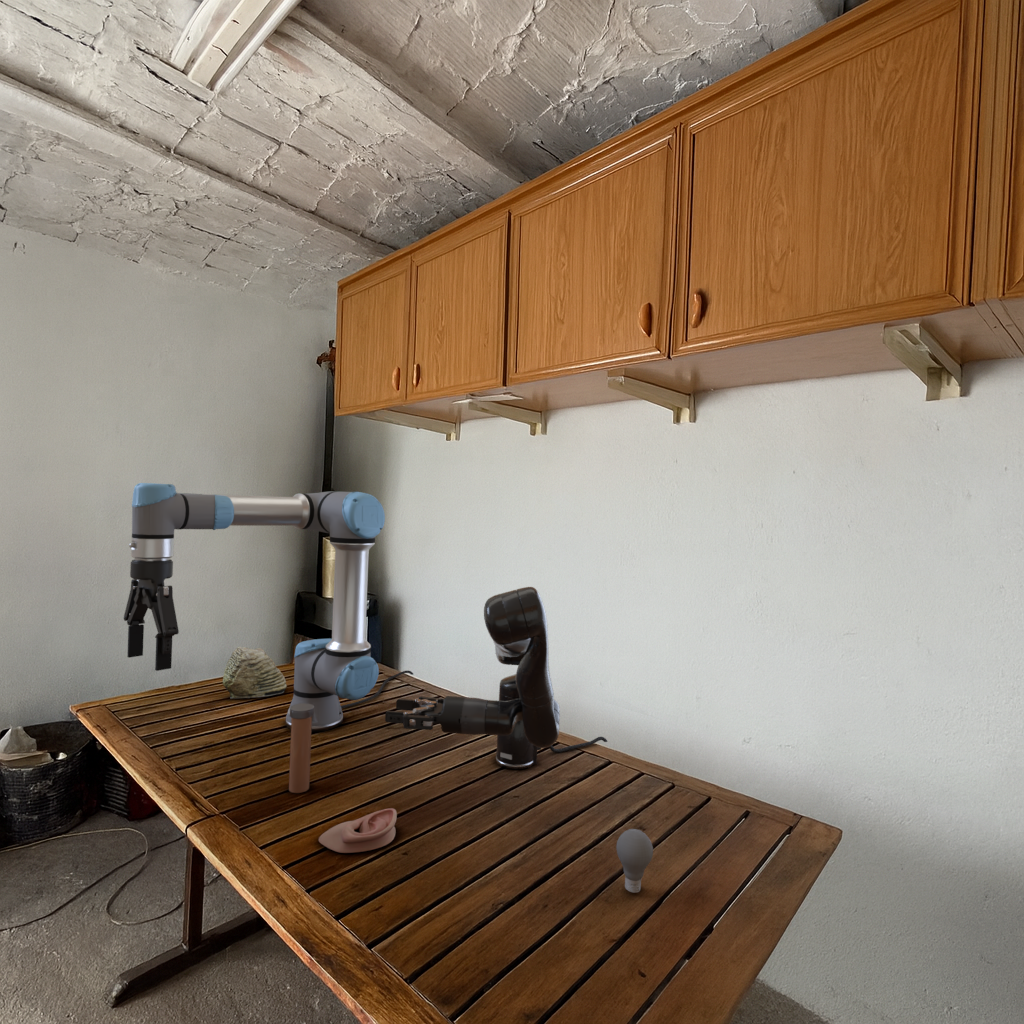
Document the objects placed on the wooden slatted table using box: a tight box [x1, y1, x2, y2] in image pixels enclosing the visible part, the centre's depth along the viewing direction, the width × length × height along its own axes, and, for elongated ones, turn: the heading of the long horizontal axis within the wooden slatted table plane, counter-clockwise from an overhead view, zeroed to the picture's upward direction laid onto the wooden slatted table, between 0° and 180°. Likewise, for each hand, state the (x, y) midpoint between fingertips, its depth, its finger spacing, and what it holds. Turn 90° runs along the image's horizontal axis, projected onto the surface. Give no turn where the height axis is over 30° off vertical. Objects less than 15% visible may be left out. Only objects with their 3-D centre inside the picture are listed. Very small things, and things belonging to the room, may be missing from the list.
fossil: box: [222, 646, 288, 699], centre depth 198 cm, size 9×18×15 cm, turn 132°
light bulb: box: [615, 828, 654, 894], centre depth 106 cm, size 6×6×10 cm
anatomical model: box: [318, 807, 398, 854], centre depth 118 cm, size 13×4×12 cm
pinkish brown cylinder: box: [288, 716, 312, 794], centre depth 137 cm, size 4×4×17 cm
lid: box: [289, 703, 314, 719], centre depth 137 cm, size 5×5×2 cm
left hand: (148, 662), depth 129 cm, fingers open, 13 cm apart
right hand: (391, 710), depth 136 cm, fingers open, 8 cm apart
